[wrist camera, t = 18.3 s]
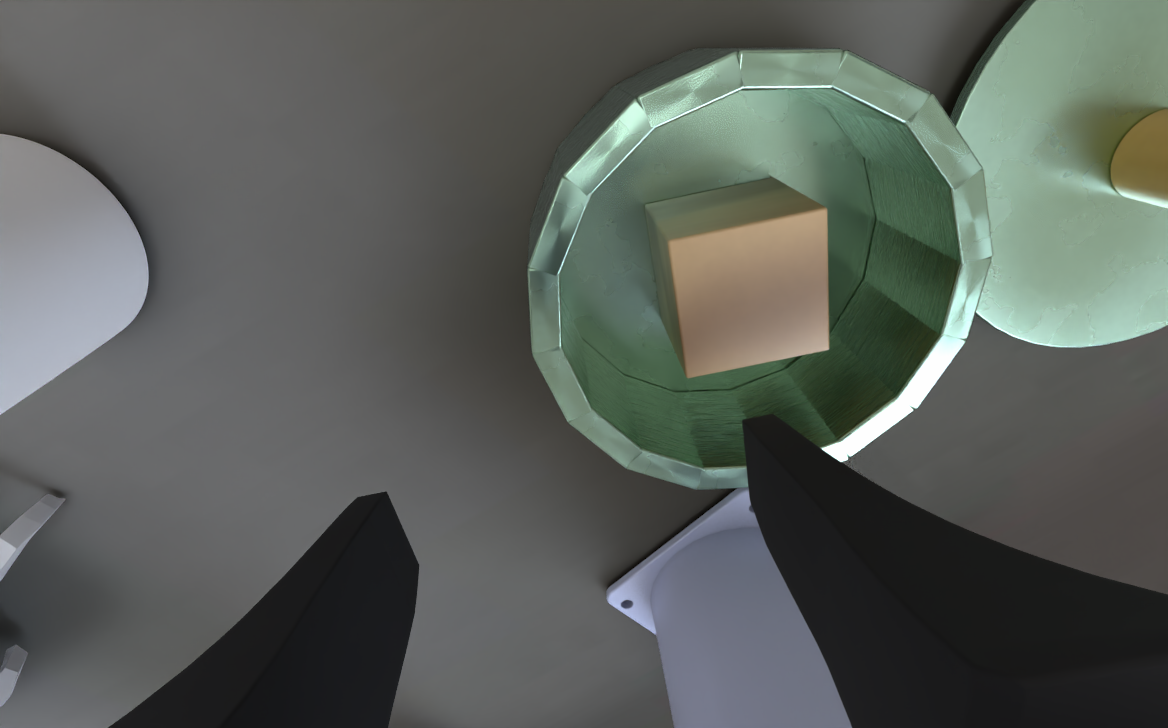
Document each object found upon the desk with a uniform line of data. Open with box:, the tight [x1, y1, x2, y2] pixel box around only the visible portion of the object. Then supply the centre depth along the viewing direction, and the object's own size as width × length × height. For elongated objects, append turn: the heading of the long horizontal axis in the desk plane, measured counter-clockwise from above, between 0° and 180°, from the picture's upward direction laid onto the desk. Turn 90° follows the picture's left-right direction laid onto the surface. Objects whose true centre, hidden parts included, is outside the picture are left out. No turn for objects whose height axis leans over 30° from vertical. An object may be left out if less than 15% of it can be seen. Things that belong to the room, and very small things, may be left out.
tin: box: [527, 48, 993, 490], centre depth 18 cm, size 12×12×5 cm
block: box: [645, 177, 829, 378], centre depth 18 cm, size 4×4×4 cm
